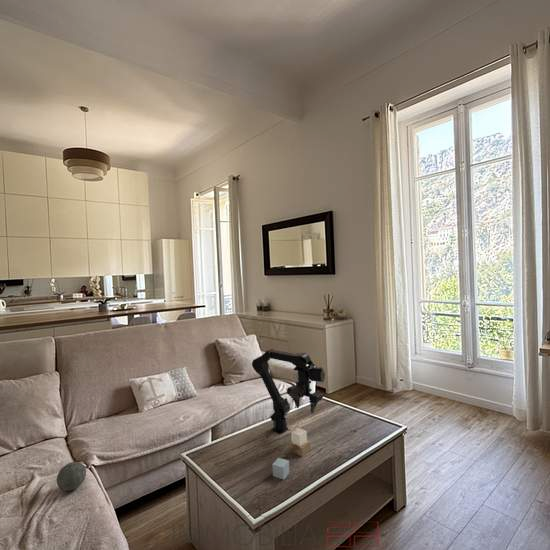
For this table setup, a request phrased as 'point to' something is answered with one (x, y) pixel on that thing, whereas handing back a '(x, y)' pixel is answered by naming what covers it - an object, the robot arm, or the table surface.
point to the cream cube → (299, 437)
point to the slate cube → (280, 468)
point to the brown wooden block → (299, 448)
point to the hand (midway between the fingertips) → (304, 410)
